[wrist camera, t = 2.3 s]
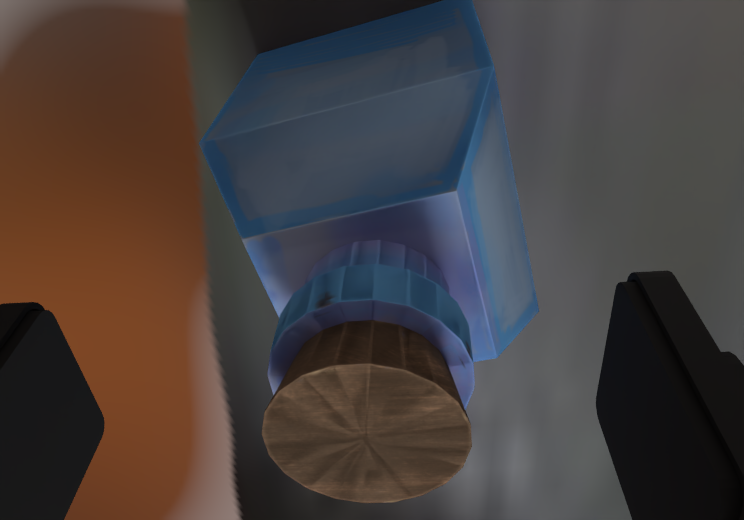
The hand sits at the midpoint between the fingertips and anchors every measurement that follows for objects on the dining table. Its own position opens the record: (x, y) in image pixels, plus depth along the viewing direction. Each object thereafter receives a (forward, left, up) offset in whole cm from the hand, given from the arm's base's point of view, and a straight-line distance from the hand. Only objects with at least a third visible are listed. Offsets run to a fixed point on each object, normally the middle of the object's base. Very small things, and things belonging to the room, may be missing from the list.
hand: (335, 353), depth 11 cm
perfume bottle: (-1, 0, -11) cm, 11 cm away
